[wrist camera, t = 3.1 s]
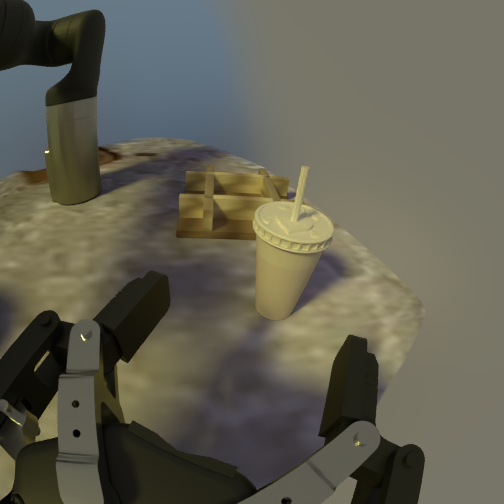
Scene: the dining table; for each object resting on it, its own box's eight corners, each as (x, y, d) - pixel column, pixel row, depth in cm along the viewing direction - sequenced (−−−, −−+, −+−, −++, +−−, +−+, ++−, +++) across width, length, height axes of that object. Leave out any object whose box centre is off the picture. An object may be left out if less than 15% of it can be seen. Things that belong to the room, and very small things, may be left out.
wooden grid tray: (176, 237, 34) (175, 209, 31) (187, 185, 47) (188, 164, 45) (305, 241, 37) (312, 216, 34) (280, 190, 50) (283, 170, 48)
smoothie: (230, 316, 25) (247, 165, 16) (254, 276, 30) (276, 147, 21) (297, 340, 23) (349, 193, 15) (311, 295, 28) (351, 167, 20)
